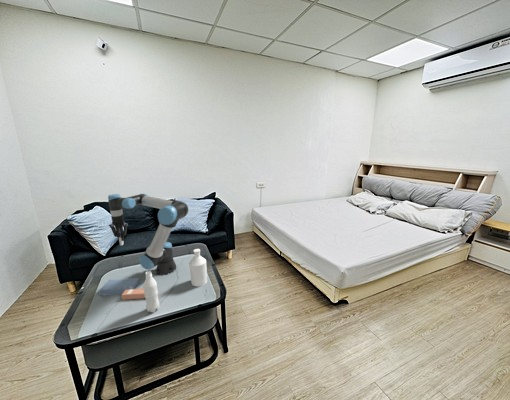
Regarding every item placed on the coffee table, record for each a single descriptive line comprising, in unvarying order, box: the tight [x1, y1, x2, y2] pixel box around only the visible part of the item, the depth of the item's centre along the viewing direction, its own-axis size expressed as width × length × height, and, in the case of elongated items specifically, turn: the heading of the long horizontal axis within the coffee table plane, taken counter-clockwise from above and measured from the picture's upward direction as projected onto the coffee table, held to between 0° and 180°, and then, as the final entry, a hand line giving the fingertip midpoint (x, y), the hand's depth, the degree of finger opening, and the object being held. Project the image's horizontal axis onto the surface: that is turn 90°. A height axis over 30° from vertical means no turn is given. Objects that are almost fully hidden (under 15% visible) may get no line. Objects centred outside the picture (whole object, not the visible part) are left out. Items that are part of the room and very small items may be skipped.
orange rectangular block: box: [121, 288, 146, 301], centre depth 142 cm, size 20×6×4 cm, turn 95°
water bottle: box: [142, 270, 160, 314], centre depth 127 cm, size 7×7×25 cm
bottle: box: [188, 248, 208, 288], centre depth 154 cm, size 12×12×25 cm
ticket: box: [98, 277, 139, 296], centre depth 150 cm, size 20×12×4 cm, turn 95°
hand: (121, 244), depth 164 cm, fingers closed
